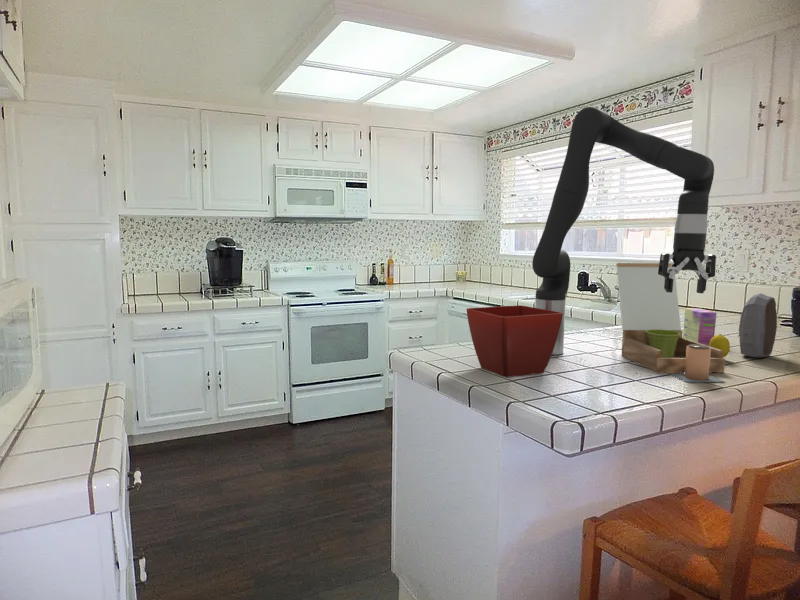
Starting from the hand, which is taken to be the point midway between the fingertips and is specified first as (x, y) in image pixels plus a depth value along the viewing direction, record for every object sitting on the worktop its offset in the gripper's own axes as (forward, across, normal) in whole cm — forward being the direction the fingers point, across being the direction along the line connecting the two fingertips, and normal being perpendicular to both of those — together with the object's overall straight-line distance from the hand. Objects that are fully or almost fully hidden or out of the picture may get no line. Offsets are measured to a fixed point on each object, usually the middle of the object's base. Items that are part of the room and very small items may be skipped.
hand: (684, 292), depth 145 cm
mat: (+22, +2, -6) cm, 23 cm away
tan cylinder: (+22, +2, -6) cm, 23 cm away
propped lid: (+23, +4, +28) cm, 36 cm away
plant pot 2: (+23, +4, +15) cm, 28 cm away
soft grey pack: (+22, +37, +22) cm, 48 cm away
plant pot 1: (+23, -45, +2) cm, 51 cm away
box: (+23, +32, +43) cm, 58 cm away
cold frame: (+22, +4, +11) cm, 25 cm away
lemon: (+22, +22, +16) cm, 35 cm away
